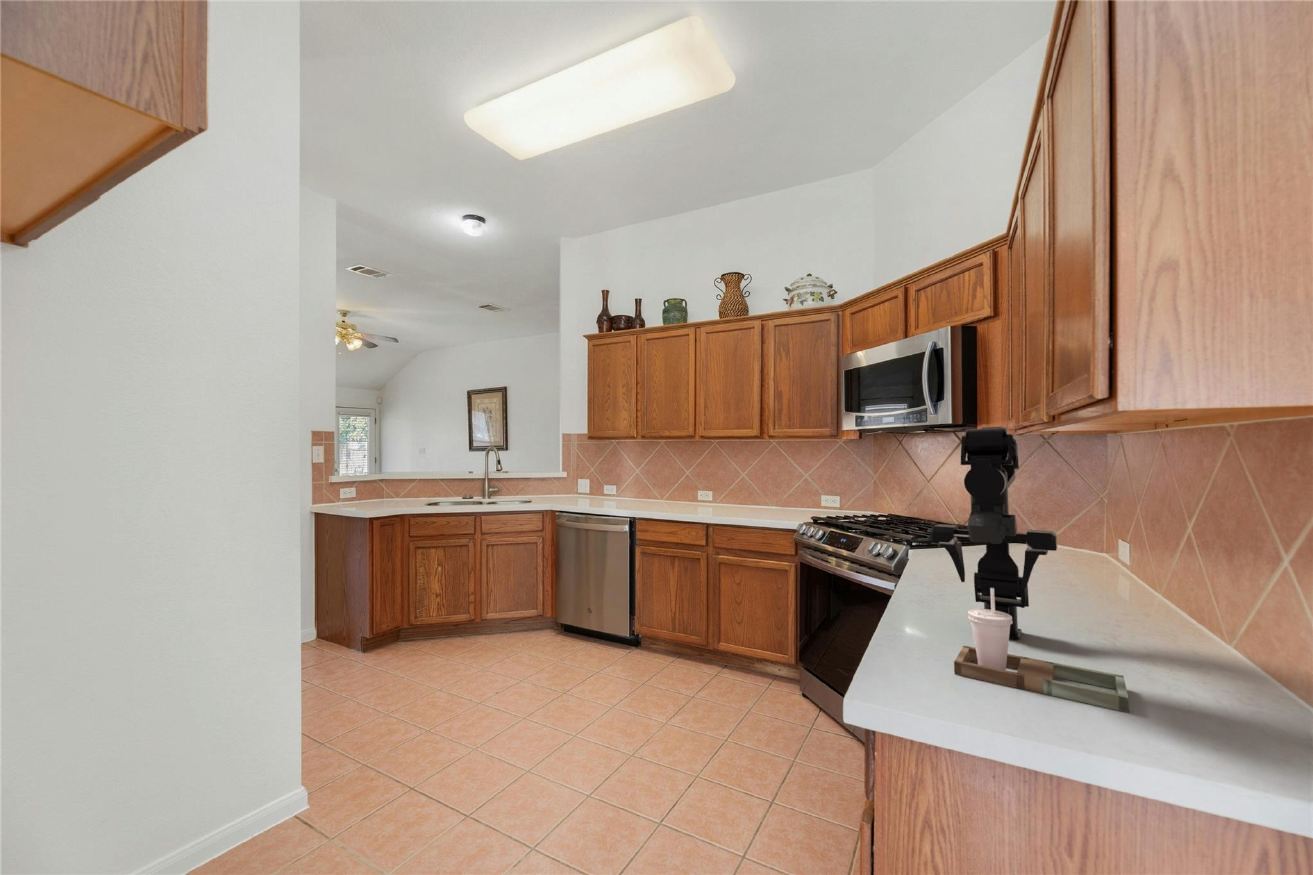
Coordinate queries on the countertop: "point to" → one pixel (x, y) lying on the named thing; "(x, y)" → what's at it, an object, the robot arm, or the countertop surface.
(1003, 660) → the smoothie
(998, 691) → the countertop surface
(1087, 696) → the caddy
